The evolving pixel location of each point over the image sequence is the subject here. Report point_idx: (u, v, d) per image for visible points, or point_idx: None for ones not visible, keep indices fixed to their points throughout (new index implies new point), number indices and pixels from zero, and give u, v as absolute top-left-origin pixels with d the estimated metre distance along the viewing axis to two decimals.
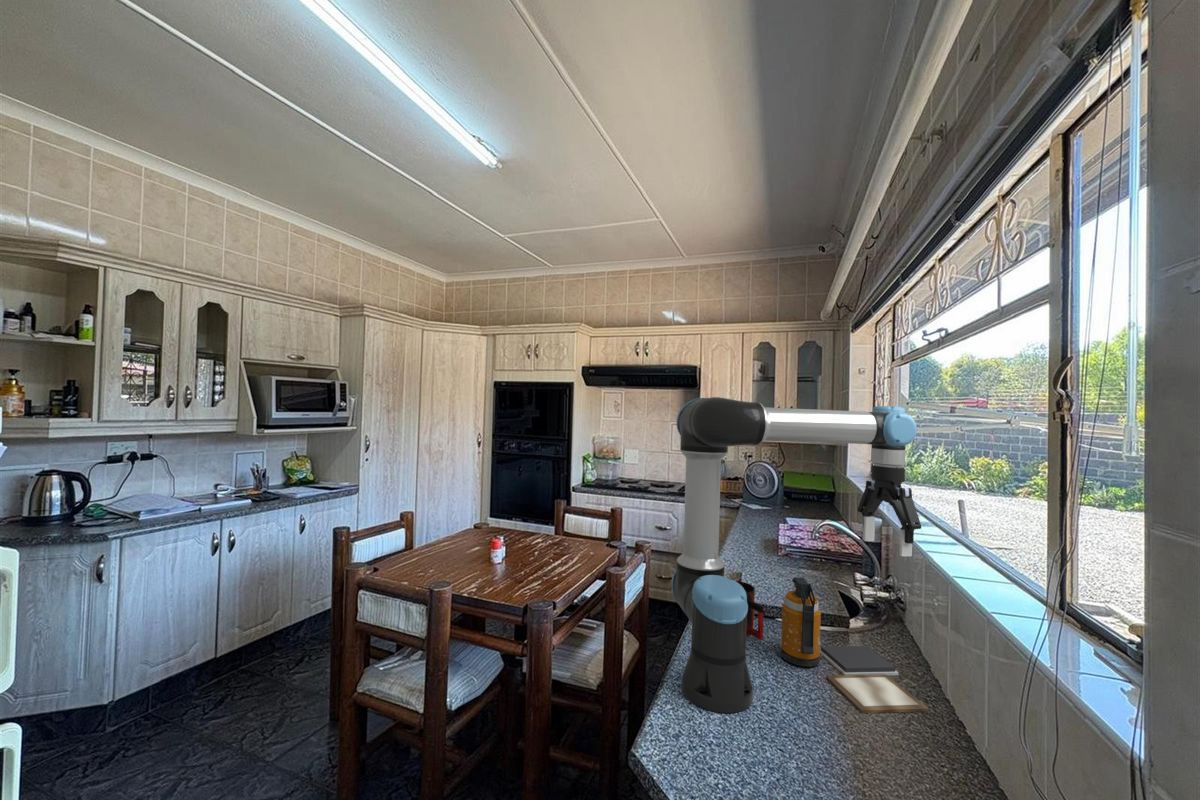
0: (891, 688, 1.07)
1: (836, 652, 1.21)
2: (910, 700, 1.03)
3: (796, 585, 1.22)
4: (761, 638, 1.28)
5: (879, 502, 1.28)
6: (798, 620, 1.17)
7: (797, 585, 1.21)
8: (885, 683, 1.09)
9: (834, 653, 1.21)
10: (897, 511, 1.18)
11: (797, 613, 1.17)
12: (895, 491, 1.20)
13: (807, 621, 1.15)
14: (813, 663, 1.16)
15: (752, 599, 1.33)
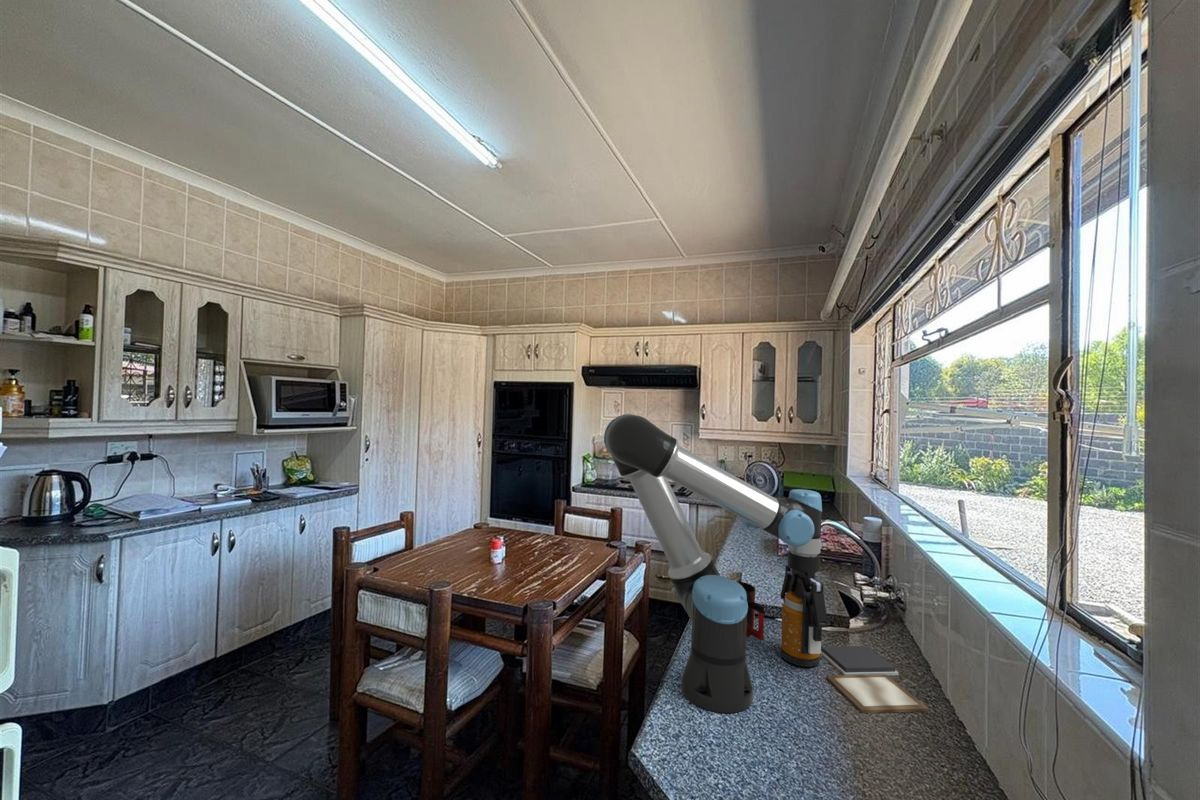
0: (891, 688, 1.07)
1: (836, 652, 1.21)
2: (910, 700, 1.03)
3: None
4: (762, 638, 1.27)
5: None
6: (798, 620, 1.17)
7: None
8: (885, 683, 1.09)
9: (834, 653, 1.21)
10: (808, 605, 1.15)
11: (797, 613, 1.17)
12: (808, 583, 1.16)
13: (807, 621, 1.15)
14: (813, 663, 1.16)
15: (752, 599, 1.33)
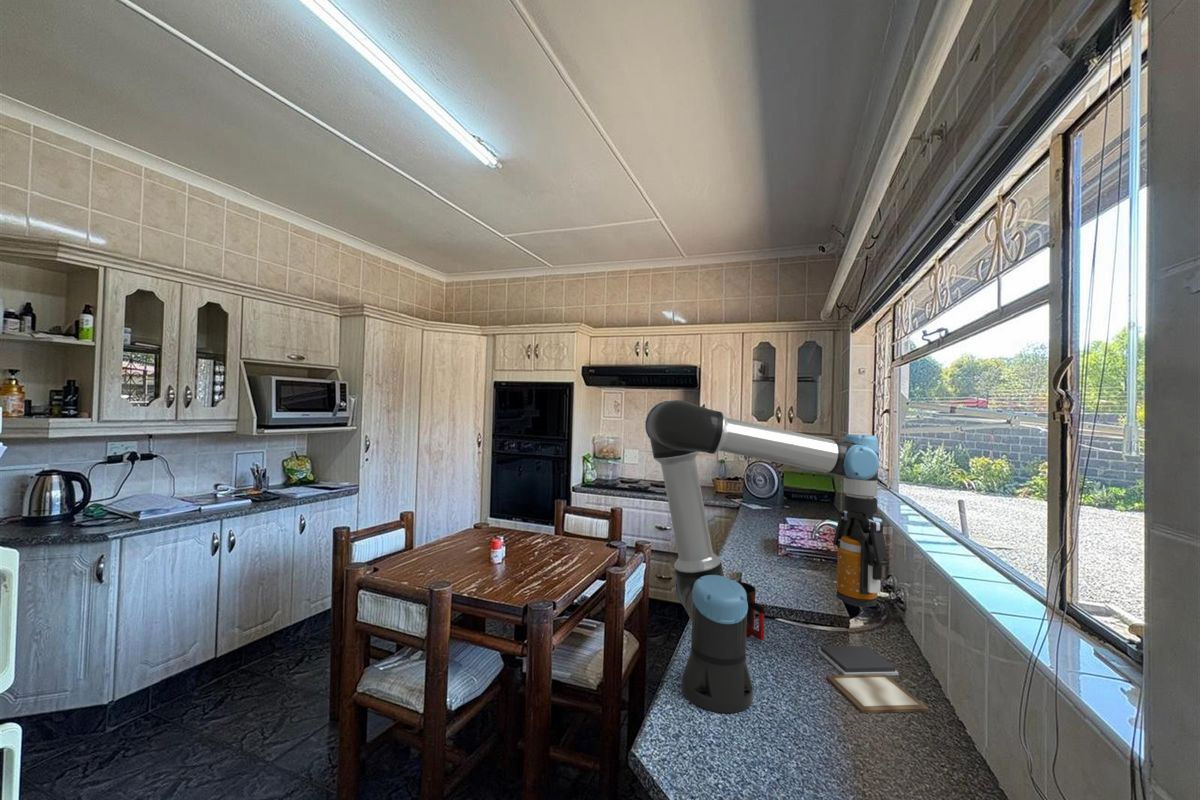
0: (891, 688, 1.07)
1: (836, 652, 1.21)
2: (910, 700, 1.03)
3: None
4: (762, 639, 1.27)
5: None
6: (856, 561, 1.17)
7: None
8: (885, 683, 1.09)
9: (834, 653, 1.21)
10: (867, 545, 1.16)
11: (855, 554, 1.18)
12: (866, 523, 1.16)
13: (865, 562, 1.16)
14: (871, 603, 1.17)
15: (753, 599, 1.33)
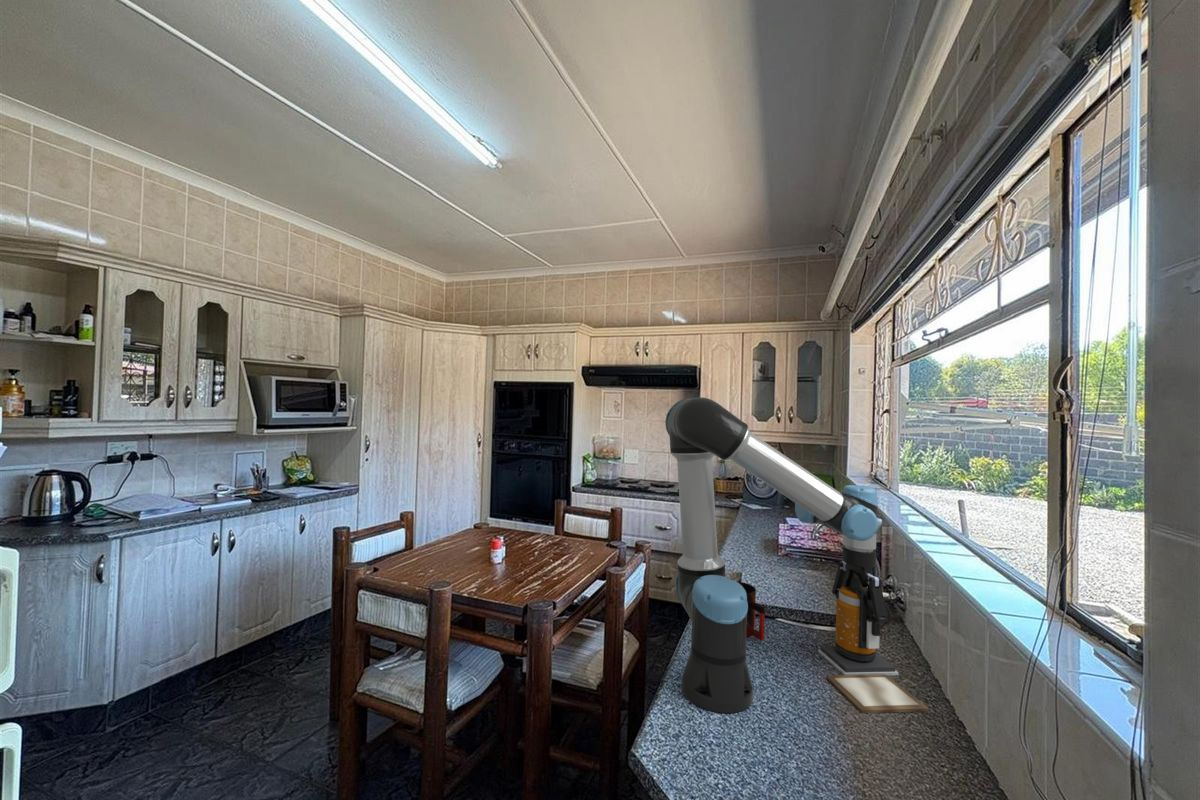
0: (891, 688, 1.07)
1: (836, 652, 1.21)
2: (910, 700, 1.03)
3: None
4: (762, 639, 1.27)
5: None
6: (855, 615, 1.17)
7: None
8: (885, 683, 1.09)
9: (834, 653, 1.21)
10: (865, 600, 1.15)
11: (854, 608, 1.17)
12: (865, 578, 1.16)
13: (864, 616, 1.16)
14: (870, 658, 1.16)
15: (753, 600, 1.33)
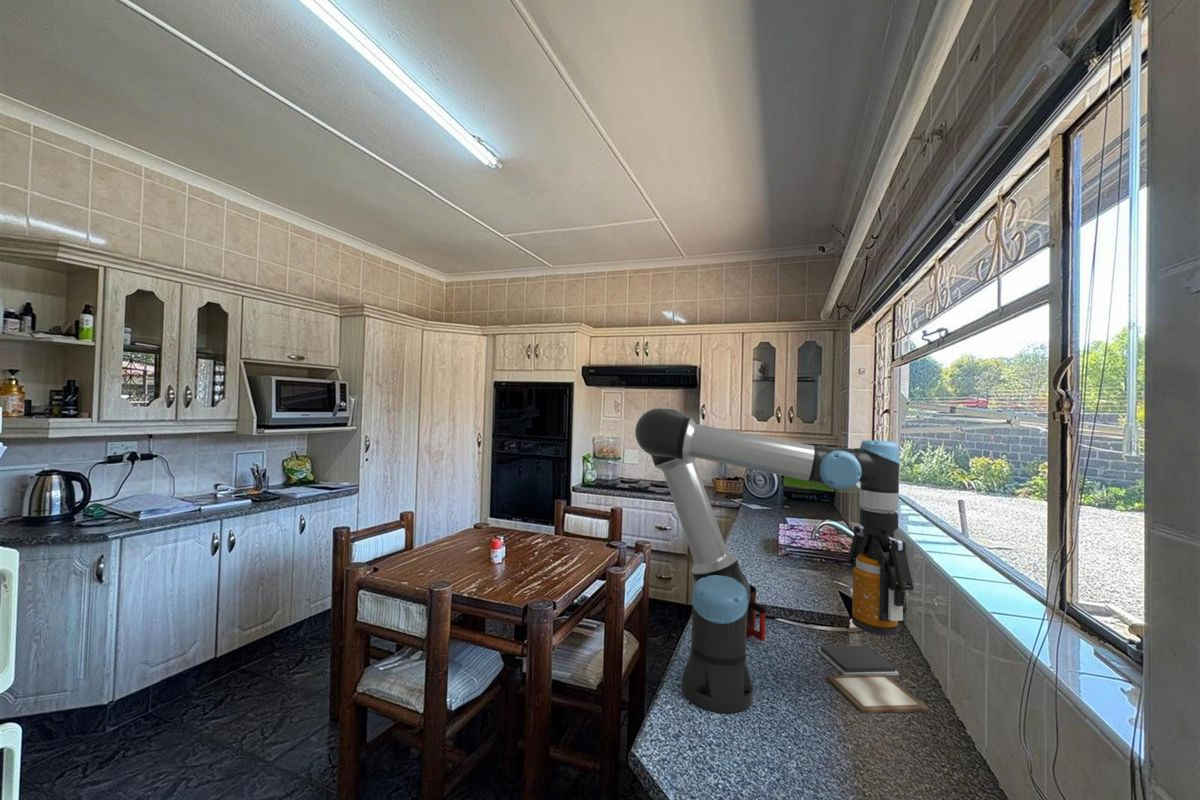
0: (891, 688, 1.07)
1: (836, 652, 1.21)
2: (910, 700, 1.03)
3: None
4: (763, 639, 1.27)
5: None
6: (875, 584, 1.04)
7: None
8: (885, 683, 1.09)
9: (834, 653, 1.21)
10: (887, 566, 1.02)
11: (874, 576, 1.04)
12: (887, 542, 1.03)
13: (886, 585, 1.03)
14: (892, 632, 1.03)
15: (754, 600, 1.33)
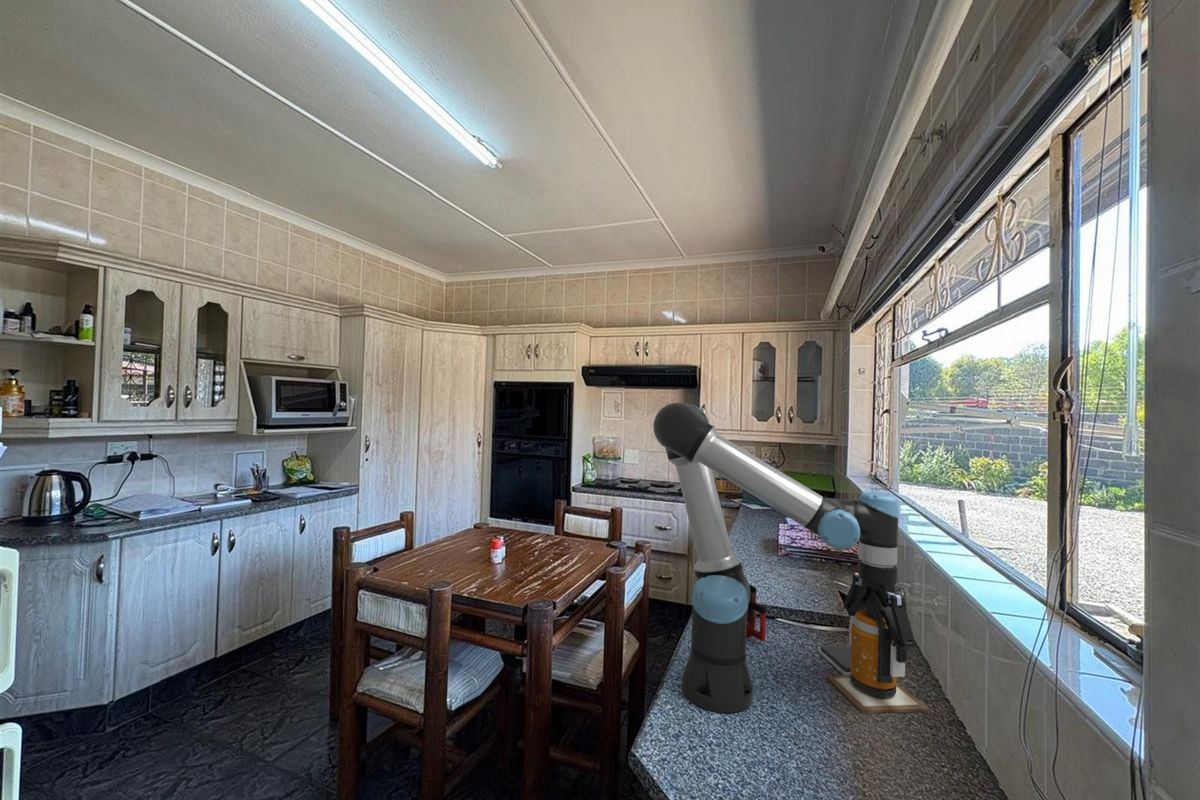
0: None
1: (836, 652, 1.21)
2: (910, 700, 1.03)
3: (867, 604, 1.09)
4: (763, 639, 1.27)
5: None
6: (873, 645, 1.04)
7: (869, 604, 1.08)
8: None
9: (834, 653, 1.21)
10: (888, 621, 1.01)
11: (872, 637, 1.04)
12: (885, 597, 1.03)
13: (884, 646, 1.02)
14: (890, 693, 1.03)
15: (754, 600, 1.33)
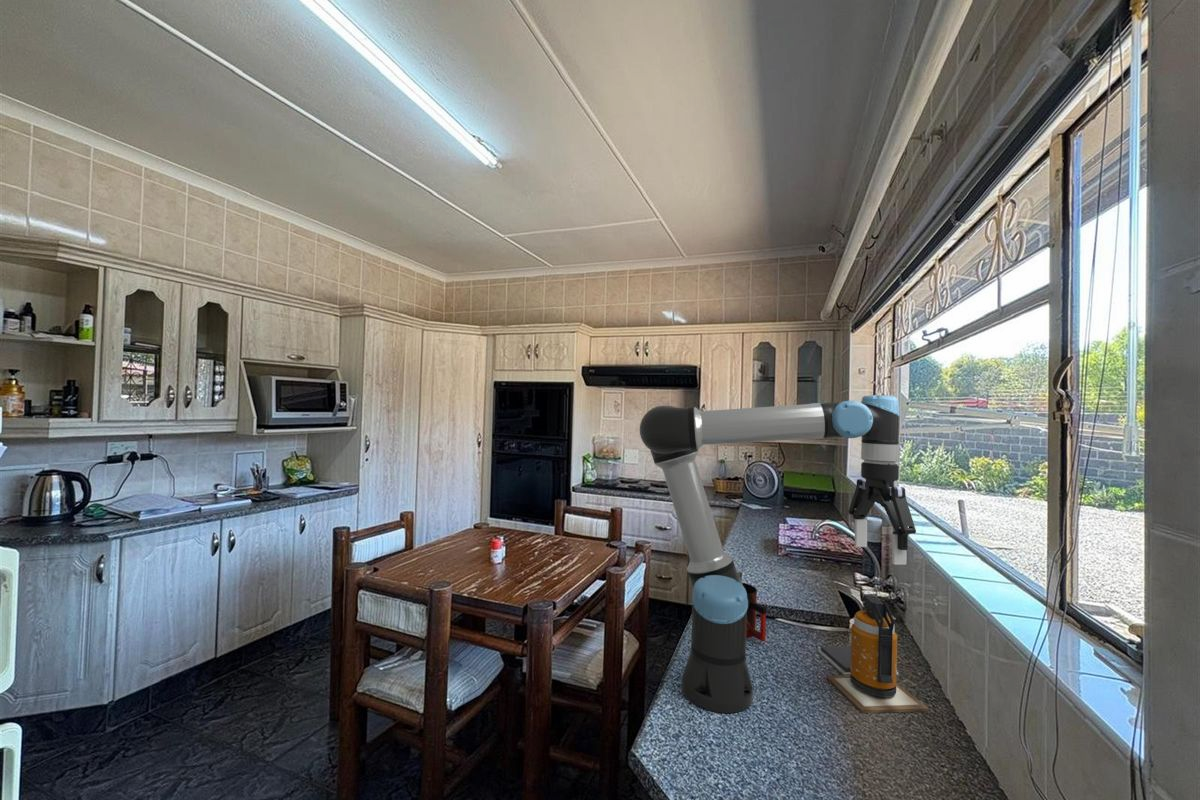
0: None
1: (836, 652, 1.21)
2: (910, 700, 1.03)
3: (867, 604, 1.09)
4: (764, 640, 1.27)
5: (871, 503, 1.14)
6: (873, 645, 1.04)
7: (869, 604, 1.08)
8: None
9: (834, 653, 1.21)
10: (889, 513, 1.05)
11: (872, 637, 1.04)
12: (887, 491, 1.06)
13: (884, 646, 1.02)
14: (890, 693, 1.03)
15: (754, 600, 1.32)
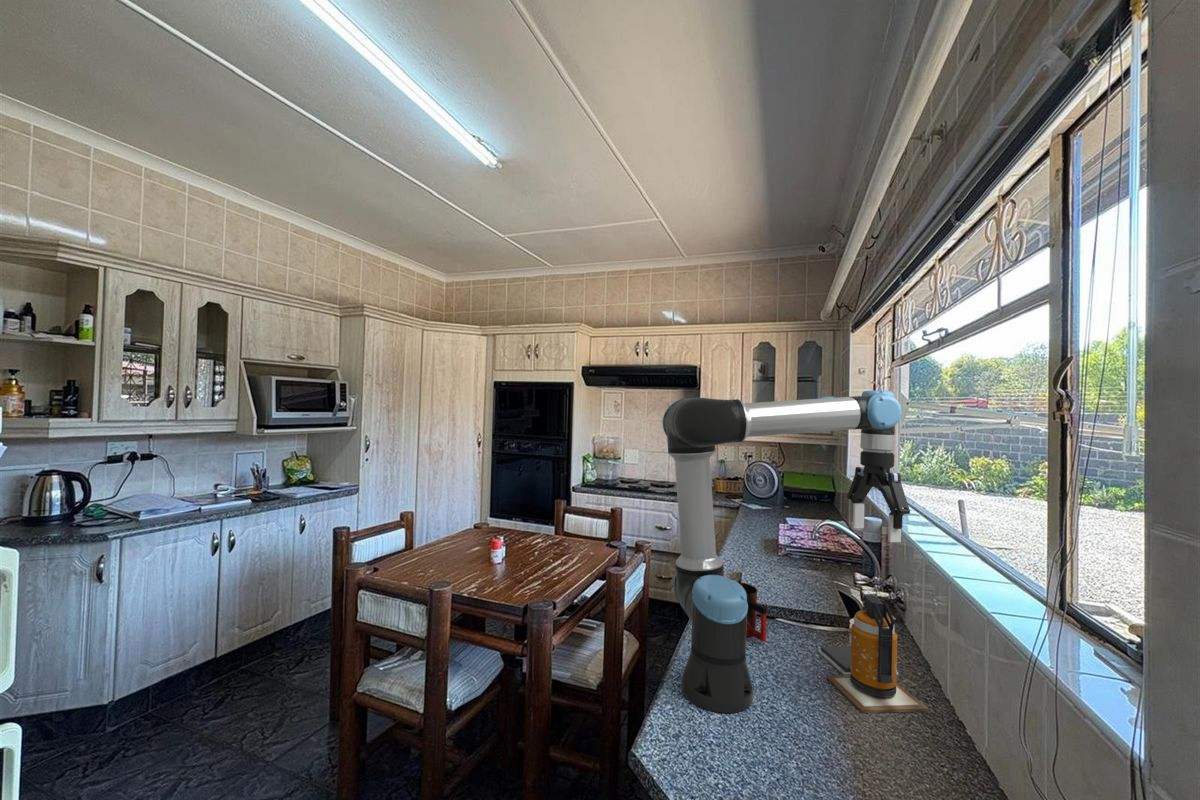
0: None
1: (836, 652, 1.21)
2: (910, 700, 1.03)
3: (867, 604, 1.09)
4: (764, 640, 1.27)
5: (868, 488, 1.26)
6: (873, 645, 1.04)
7: (869, 604, 1.08)
8: None
9: (834, 653, 1.21)
10: (886, 496, 1.17)
11: (872, 637, 1.04)
12: (884, 476, 1.18)
13: (884, 646, 1.02)
14: (890, 693, 1.03)
15: (754, 600, 1.32)
